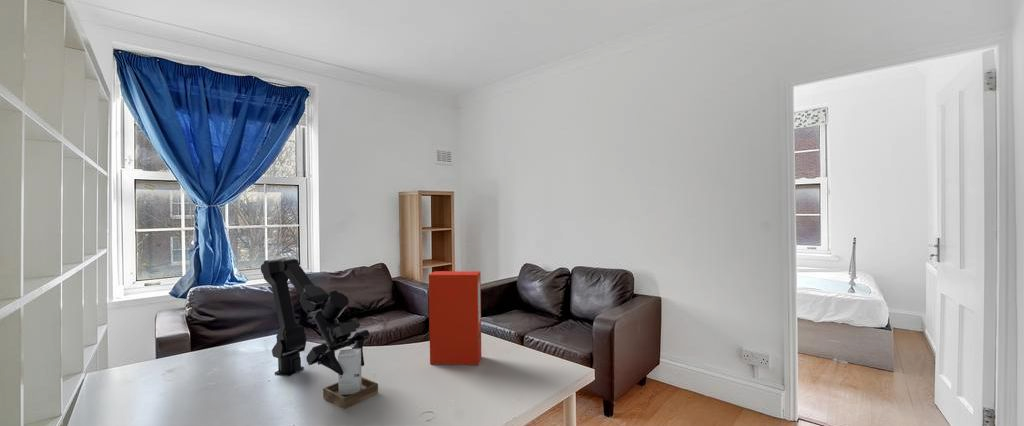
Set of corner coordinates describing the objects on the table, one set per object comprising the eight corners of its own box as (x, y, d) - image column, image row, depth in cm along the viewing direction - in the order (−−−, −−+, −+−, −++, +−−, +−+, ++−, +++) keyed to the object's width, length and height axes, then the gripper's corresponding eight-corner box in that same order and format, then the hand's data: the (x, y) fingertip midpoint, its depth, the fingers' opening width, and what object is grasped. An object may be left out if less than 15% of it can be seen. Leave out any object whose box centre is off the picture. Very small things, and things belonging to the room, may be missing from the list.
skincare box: (338, 396, 115) (336, 355, 114) (341, 388, 119) (339, 349, 118) (360, 393, 116) (358, 353, 116) (362, 385, 121) (361, 347, 120)
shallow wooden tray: (323, 398, 116) (323, 388, 116) (356, 383, 125) (356, 374, 125) (344, 409, 110) (344, 398, 110) (378, 393, 119) (377, 383, 119)
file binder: (436, 355, 147) (434, 270, 146) (481, 356, 146) (480, 270, 145) (430, 364, 139) (428, 275, 138) (478, 365, 138) (476, 275, 137)
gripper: (311, 319, 111) (336, 367, 105) (366, 304, 127) (390, 344, 121) (296, 342, 115) (319, 388, 110) (351, 324, 131) (374, 364, 126)
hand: (353, 370), depth 117 cm, fingers closed on skincare box, 7 cm apart
